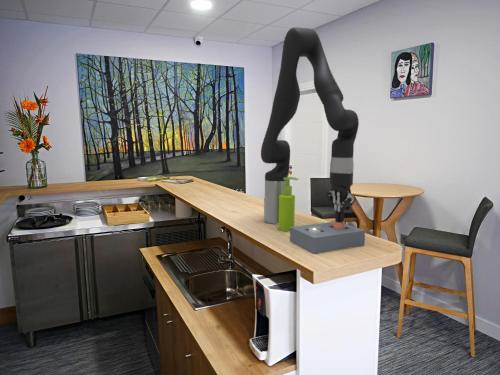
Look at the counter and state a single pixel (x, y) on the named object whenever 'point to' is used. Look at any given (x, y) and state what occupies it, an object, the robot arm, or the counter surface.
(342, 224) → the terracotta plug
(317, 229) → the steel plug
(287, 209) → the soap dispenser
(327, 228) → the plug board
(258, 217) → the counter surface
